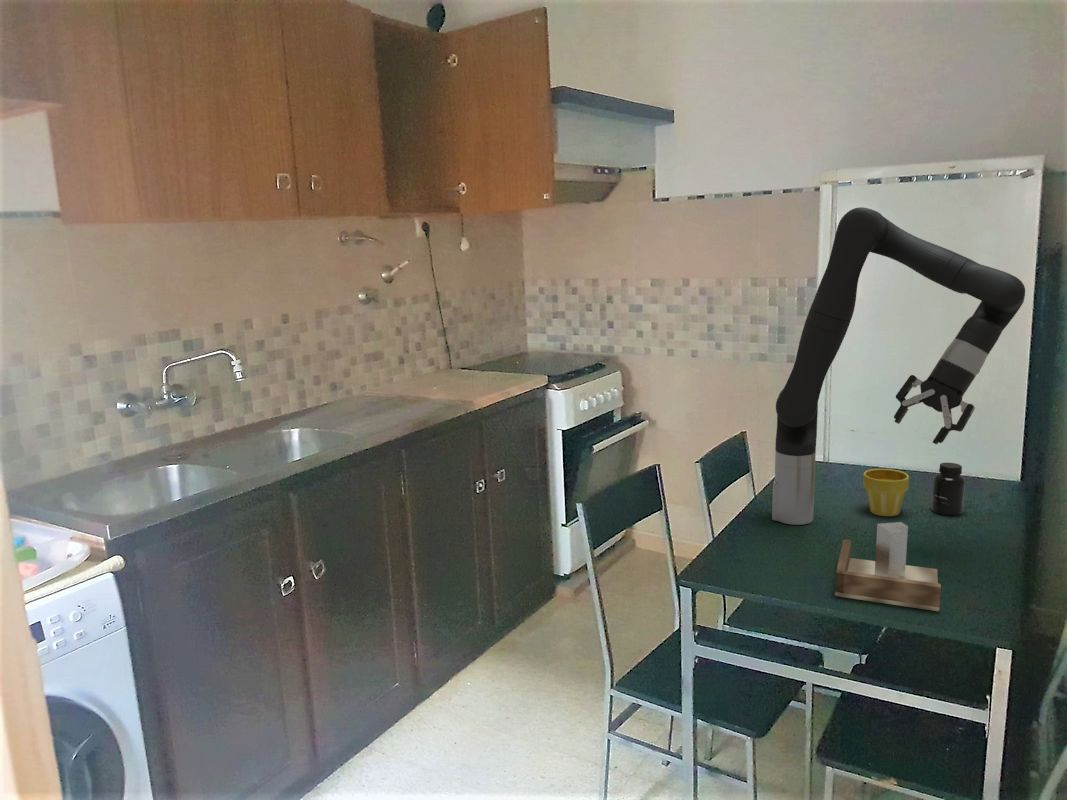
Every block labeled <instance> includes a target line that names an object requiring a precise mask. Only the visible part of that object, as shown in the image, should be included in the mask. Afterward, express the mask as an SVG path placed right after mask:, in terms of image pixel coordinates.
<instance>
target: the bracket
mask: <svg viewBox="0 0 1067 800" xmlns="http://www.w3.org/2000/svg"><path fill="white" fill-rule="evenodd" d="M908 533H909V526H908V525H907V524H905V523H903V522H902V521H898V522H886V523H885V522H884V523H877V527H876V543H875V560H874V561H875V575H878V576H886V577H893V578H901V579H905V567H906V565H907V549H908Z"/></svg>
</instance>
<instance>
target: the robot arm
mask: <svg viewBox="0 0 1067 800" xmlns="http://www.w3.org/2000/svg"><path fill="white" fill-rule="evenodd" d="M870 253H872V254H876V255H880V256H883V257H886V258H889V259H891V260H894V261H896V262H899V263H900V264H903V265H904V266H906V267H908V268H910V270H913V272H916V273H918V274H919V275H921V276H923V277H924V278H926V279H928V280H930V281H932V282H933V283H935V284H937V285H940V286H942V287H944V288H947V289H949V290H950V291H953V292H955V293H958V294H962V295H965V294H966V295H968V296H971V297H973V298H974V299H977V300H978V301H979V300H980V303H979V304H978V306H977V308H976V309H975V310H974V312H973V314H972V316H970V317H969V318H967V319H966V320H965V322H964V324H963V325H962V326H961V328H960V329H959V331H958V333H957V334H956V335H955V337H954V339H953V340H952V342H951V343H950V344H949V345H948V346H947V347H946V348H945V350H944V352H943V354H941V357H940V359H939V360H938V361H937V362H936V364H935V366H934V368H933V369H932V371H931V372H930V374H929V375H928V377H927V379H925V380H924V381H923V380H921V379H920V378H918V377H917V376H915V375H914V374H911V375H909V376H908V378H907V379H906V381H905V382H904V384H903V385H902V387H901V388H900V389H899V391H898V392H897V394H895V399H897V401H898V402H899V403H900V405H899V407H898V409H897V410H896V412H895V414H894V415H893V419H894V423H896V424H898V425H899V424H900V423H901V421H902V420H903V419H904V418H905V416H906V415H907V413H908V411H909V408H910V407H913V406H915V405H918V404H921V403H923V405H925V406H927V407H929V408H933V410H935V411H936V412H938V413H942V418H943V424H944V426H942V427H940V430H939V431H938V433H937V434H936V436H935V437H934V438H933V440H932V443H933V444H935V445H938V444H942V443H943V442H944V441H945V439H946V438H947V436H948V435H949V433H950V432H952V431H954V432H962V431H963V430H964V429H965V427H966V425H967V424H968V423H969V420H970V419H971V416H972V414H973V413H974V412H975V409H976V407H975V406H974V404H972V403H968V402H965V401H963V397H964V395H965V393H966V392H967V391H968V388H969V387H970V386H971V384H972V383H973V381H974V380H975V378H976V376H977V375H978V374H979V373H980V371H981V369H982V368H983V366H984V364H985V362H986V360H987V357H988V356H989V354H991V351H992V349H993V348H994V346H995V345H996V343H998V340H999V338H1000V336H1001V335H1002V332H1003V331H1004V329H1005V328H1006V327H1007V326H1008V325H1009V324H1010V322H1012V319H1014V317H1015V315H1016V314H1017V313H1018V311H1019V310H1020V308H1022V306H1023V304H1024V302H1025V296H1026V288H1025V284H1024V283H1023V282H1022V280H1021V279H1019V278H1018V277H1016V276H1015V275H1013V274H1011V273H1009V272H1006V271H1003V270H1000V269H998V268H994V267H991V266H987V265H984V264H981V263H978V262H976V261H975V260H973V259H971V258H968V257H966V256H964V255H962V254H959V253H957V252H955V251H953V250H950V249H948V248H946V247H942V246H941V245H938V244H935V243H932V242H930V241H927V240H924V239H922V238H919V237H917V236H916V235H913V234H911V233H909V232H908V231H906V230H904V229H902V228H901V227H899V226H898V225H896V224H895V223H894V222H892V221H890V220H889V219H888V218H886V217H885V216H883V214H881V213H880V212H878V211H877V210H874V209H872V208H868V207H863V206H862V207H861V206H860V207H855V208H852V209H850V210H849V211H847V212H846V213H845V214H844V215H843V216H842V217H841V218H840V220H839V222H838V224H837V228H836V231H835V236H834V240H833V244H832V247H831V252H830V255H829V258H828V259H829V260H828V262H827V265H826V268H825V271H824V273H823V276H822V277H821V280H820V283H819V284H818V287H817V290H816V293H815V296H814V298H813V301H812V303H811V305H810V309H809V311H808V313H807V316H806V319H805V321H804V325H803V328H802V330H801V331H802V332H801V335H800V339H799V342H798V343H799V344H798V348H797V352H796V356H795V361H794V364H793V366H792V367H793V368H792V369H791V372H790V375H789V377H788V379H787V381H786V383H785V385H784V387H783V388H782V389H781V391H780V392H779V394H778V396H777V399H776V400H775V401H776V402H775V412H776V416H777V417H776V419H777V420H776V434H775V451H774V456H775V457H774V481H773V482H772V504H771V505H772V506H771V509H772V510H771V511H772V512H771V520H772V521H777V522H780V523H782V524H787V525H792V526H793V525H794V526H795V525H796V526H799V525H800V526H801V525H807V524H811V523H812V522H813V521H814V515H815V514H814V513H815V510H814V509H815V484H816V483H815V480H816V458H817V457H816V456H817V455H816V452H817V435H818V415H819V413H818V412H819V399H820V395H821V392H822V387H823V385H824V381H825V378H826V376H827V373H828V371H829V370H830V368H831V365H832V363H833V362H834V360H835V359H836V355H837V354H838V352H839V350H840V348H841V346H842V343H843V341H844V339H845V337H846V334H847V332H848V329H849V326H850V323H851V321H852V319H853V316H854V312H855V306H856V303H857V302H856V301H857V293H858V285H859V278H860V275H861V272H862V270H863V267H864V265H865V262H866V260H867V257H868V256H869V254H870ZM918 386H920V387H919V389H920V393H918V394H916V395H913V396H911V397H910V398H906V397H907V395H908V394H909V393H910V391H911V390H912V389H915V388H917V387H918ZM958 407H960V412H962V413H961V415H960V417H959V419H958V420H957V422H956V424H955V423H953V419H952V418H953V415H952V414H953V413H952V410H953V409H955V408H958Z"/></svg>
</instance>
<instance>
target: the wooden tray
mask: <svg viewBox="0 0 1067 800" xmlns="http://www.w3.org/2000/svg"><path fill="white" fill-rule="evenodd" d="M851 548H852V540H851V539H845V538H844V539H843V541H842V544H841V549H840V554H839V557H838V562H837V567H836V570H835V586H834V587H835V588H834V596H835V597H840V598H846V599H853V600H858V601H861V600H862V601H866V602H872V603H880V604H886V605H894V606H900V607H906V608H911V609H912V608H915V609H919V610H920V609H921V610H925V611H926V610H927V611H933V612H940V605H941V603H940V602H941V591H942V589H941V588H942V585H941V583H939V578H938V568H931V567H923V566H917V565H916V566H914V565H909V564H908V565H907V564H906V567H905V579H901V578H893V577H886V576H878V575H875V560H869V559H861V558H853V557H851V551H852V549H851Z"/></svg>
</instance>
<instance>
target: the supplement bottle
mask: <svg viewBox="0 0 1067 800" xmlns="http://www.w3.org/2000/svg"><path fill="white" fill-rule="evenodd" d="M962 469H963V466H962V465H961V464H960V463H959V464H958V463H954V462H941V463H940V464H939V469H938V472H939V473H937V474H936V475H935V476H934V478H933V485H932V486H933V487H932V496H931V510H932V512H934V513H935V514H938V515H940V516H945V517H958V516H960V515H962V513H963V510H964V509H963V508H964V501H965V500H964V499H965V490H966V479H965V477H963V476H962V473H963V471H962Z"/></svg>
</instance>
